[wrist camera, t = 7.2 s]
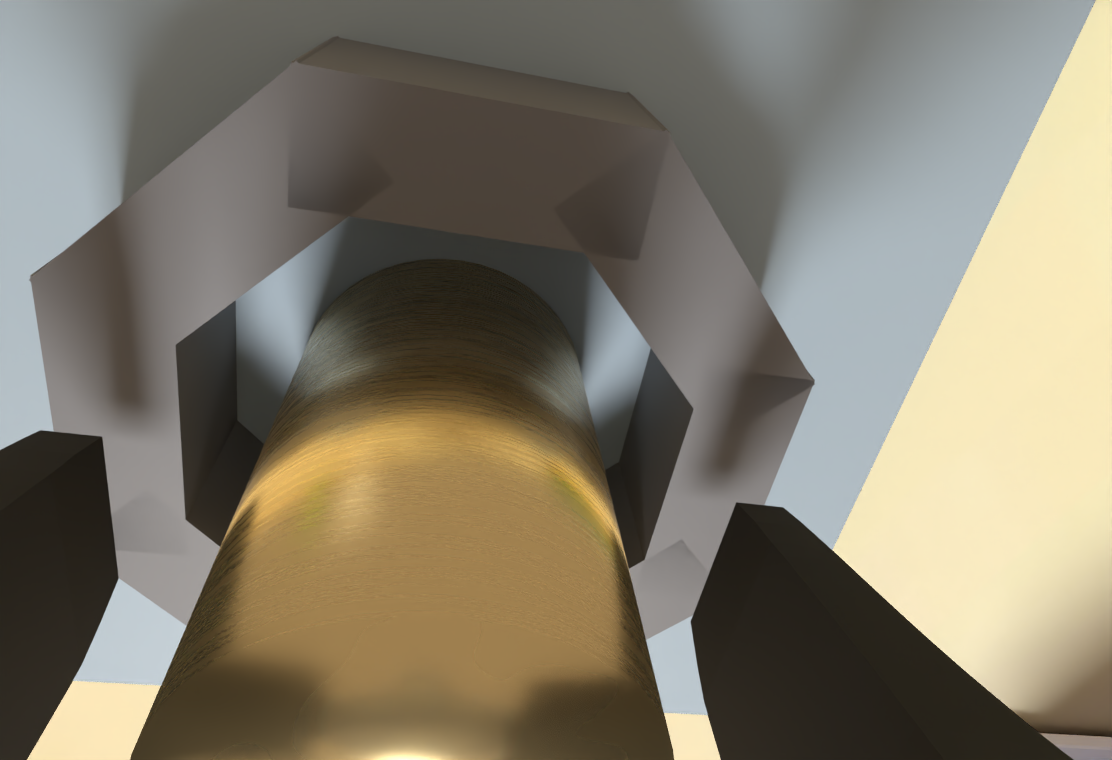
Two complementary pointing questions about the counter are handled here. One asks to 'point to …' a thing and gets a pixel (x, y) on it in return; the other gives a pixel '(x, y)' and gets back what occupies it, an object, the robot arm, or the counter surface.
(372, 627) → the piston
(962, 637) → the counter surface
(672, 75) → the ring plate
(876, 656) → the robot arm
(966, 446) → the counter surface
